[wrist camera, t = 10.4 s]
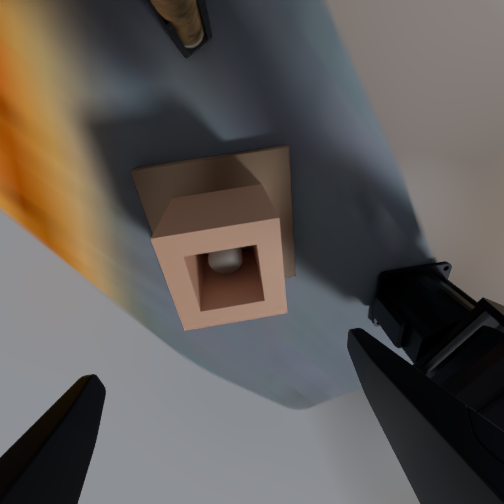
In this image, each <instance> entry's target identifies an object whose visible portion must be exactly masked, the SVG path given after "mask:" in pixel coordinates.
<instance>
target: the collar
mask: <svg viewBox="0 0 504 504" xmlns="http://www.w3.org/2000/svg"><path fill="white" fill-rule="evenodd" d="M151 242H152V244H153V247H154V250H155V252H156V255H157V258H158V260H159V263H160V266H161V268H162V271H163V274H164V276H165V279H166V282H167V284H168V287H169V290H170V292H171V295H172V298H173V300H174V303H175V306H176V308H177V311H178V314H179V317H180V319H181V322H182V325H183V327H184V330H185V331H186V330H192V329H198V328H203V327H209V326H215V325H221V324H227V323H232V322H238V321H244V320H250V319H255V318H261V317H267V316H273V315H279V314H284V313H287V304H286V292H285V280H284V268H283V255H282V243H281V231H280V219H279V216H278V214H277V212H276V210H275V208H274V206H273V205H272V203H271V201H270V199H269V197H268V195H267V193H266V191H265V189H264V187H263V185H262V184H258V185H252V186H246V187H240V188H233V189H227V190H221V191H215V192H208V193H202V194H196V195H190V196H183V197H177V198H172V200H171V202H170V204H169V205H168V207H167V209H166V211H165V213H164V215H163V217H162V218H161V220H160V222H159V224H158V226H157V228H156V230H155V231H154V233H153V235H152V237H151ZM251 245H253V249H250V250H244V251H242V264H241V266H240V267H239V268H238V269H237V270H236V271H234V272H232V273H229V274H222V273H218V272H216V271H214V270H213V269H212V268H211V267H210V265H209V262H208V257H206V254H205V253H209V252H215V251H221V250H227V249H233V248H239V247H245V246H251Z"/></svg>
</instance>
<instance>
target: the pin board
mask: <svg viewBox="0 0 504 504" xmlns="http://www.w3.org/2000/svg"><path fill="white" fill-rule="evenodd" d="M130 172H131V175H132V178H133V180H134V183H135V186H136V189H137V191H138V194H139V197H140V200H141V203H142V205H143V208H144V211H145V214H146V217H147V219H148V222H149V225H150V228H151V230H152V233H154V231H155V230H156V228H157V226H158V224H159V222H160V220H161V218H162V217H163V215H164V213H165V211H166V209H167V207H168V205H169V204H170V202H171V200H172V198H177V197H183V196H190V195H196V194H202V193H208V192H215V191H221V190H227V189H233V188H240V187H246V186H252V185H258V184H262V185H263V187H264V189H265V191H266V193H267V195H268V197H269V199H270V201H271V203H272V205H273V206H274V208H275V210H276V212H277V214H278V216H279V219H280V231H281V243H282V255H283V268H284V278H285V277H291V276H296V274H295V254H294V234H293V213H292V193H291V173H290V153H289V147H288V146H287V145H282V146H275V147H269V148H262V149H256V150H249V151H243V152H236V153H229V154H223V155H216V156H210V157H203V158H196V159H190V160H183V161H177V162H170V163H164V164H157V165H150V166H144V167H137V168H134V169H133V170H131V171H130ZM250 249H253V245H251V246H245V247H239V248H233V249H227V250H221V251H215V252H209V253H205V254H206V257H208V262H209V265H210V267H211V268H212V269H213V270H214V271H216V272H218V273H222V274H229V273H232V272H234V271H236V270H237V269H238V268H239V267H240V266H241V264H242V251H244V250H250Z"/></svg>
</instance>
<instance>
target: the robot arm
mask: <svg viewBox="0 0 504 504" xmlns="http://www.w3.org/2000/svg"><path fill="white" fill-rule="evenodd" d="M451 267H452V266H451V264H449V263H448V262H439V263H433V264H427V265H421V266H415V267H409V268H403V269H397V270H391V271H385V272H382V273H381V274H380V275H379V278H378V284H377V291H376V295H375V298H374V305H373V312H372V315H373V317H372V323H373V324H374V325H375V326H381V327H382V329H383V330H384V332H385V333H386V334H387V336H388V337H389V339H390V340H391V341H392V343H393V344H394V345H395V346H396V347H397V348H402V349H403V350H404V351H405V353H406V354H407V355H408V357H409V358H410V359H411V361H412V362H413V363H414V364H413V365H411V364H410V363H408V362H407V361H406V360H404V359H403V358H402V357H400V356H399V355H398V354H396V353H395V352H393V351H392V350H391V349H389V348H388V347H387V346H385V345H384V344H382V343H381V342H380V341H378V340H377V339H376V338H374V337H373V336H371V335H370V334H369V333H367V332H366V331H365V330H363V329H361V328H355V329H350V330H349V332H348V341H347V348H348V351H349V354H350V357H351V359H352V362H353V364H354V367H355V370H356V372H357V375H358V377H359V380H360V383H361V385H362V388H363V390H364V393H365V395H366V397H367V399H368V401H369V403H370V405H371V407H372V409H373V411H374V413H375V415H376V417H377V419H378V421H379V423H380V425H381V427H382V429H383V431H384V433H385V435H386V437H387V439H388V441H389V443H390V445H391V446H392V449H393V451H394V453H395V454H396V457H397V458H398V460H399V462H400V464H401V466H402V468H403V470H404V472H405V474H406V476H407V478H408V480H409V482H410V484H411V486H412V488H413V490H414V492H415V494H416V496H417V498H418V500H419V502H420V504H504V306H503V305H501V304H498V303H496V302H493V301H491V300H488V299H486V298H482V299H481V300H480V301H478V302H476V301H475V300H474V299H472V298H471V297H470V296H468V295H467V294H466V293H464V292H463V291H462V290H460V289H459V288H458V287H456V286H455V285H454V284H453V283H451V282H450V281H449V280H448V277H449V274H450V271H451ZM105 395H106V390H105V387H104V385H103V384H102V382H101V381H100V379H99V378H98V377H97V375H95V374H92V375H86V376H82V377H81V378H80V379H78V380H77V381H76V382H75V383H74V384H73V386H71V387H70V389H68V390H67V392H66V393H64V395H62V396H61V398H60V399H58V400H57V401H56V402H55V404H54V405H52V406H51V407H50V408H49V410H47V411H46V412H45V413H44V414H43V415H42V416H41V417H40V418H39V419H38V420H37V421H36V422H35V424H34V425H32V426H31V427H30V428H29V429H28V430H27V431H26V432H25V433H24V434H23V435H22V436H21V437H20V438H19V439H18V440H17V441H16V442H15V443H14V444H13V445H12V446H11V447H10V448H9V449H8V450H7V451H6V452H5V453H4V454H3V455H2V456H1V457H0V504H78V500H79V497H80V494H81V491H82V487H83V484H84V481H85V477H86V474H87V470H88V467H89V464H90V461H91V457H92V454H93V451H94V447H95V443H96V439H97V435H98V430H99V425H100V420H101V415H102V410H103V405H104V400H105Z"/></svg>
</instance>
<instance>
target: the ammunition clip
mask: <svg viewBox="0 0 504 504" xmlns="http://www.w3.org/2000/svg"><path fill="white" fill-rule="evenodd" d="M147 1H148V3H149V5H150V6H151V8H152V9H153V11H154V13H155V14H156V16H157V17H158V19H159V21H160V22H161V24H162V25H163V27H164V28H165V30H166V31H167V33H168V34H169V36H170V37H171V38H172V40H173V41H174V43H175V44H176V45H177V47H178V48H179V50H180V51H181V52H182V54H183V55H184V57H185V58H188V57H190V56H191V55H192V54H193V53H194V52H196V51H197V50H198V49H199V48H200V47H202V46H203V45H204V44H205V43H206V42H208V41H209V40H210V39H211V38H212V32H211V27H210V22H209V17H208V12H207V7H206V2H205V0H147Z"/></svg>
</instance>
